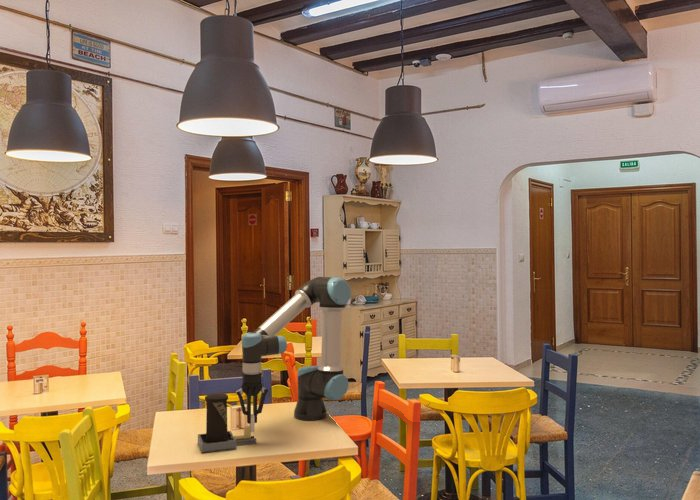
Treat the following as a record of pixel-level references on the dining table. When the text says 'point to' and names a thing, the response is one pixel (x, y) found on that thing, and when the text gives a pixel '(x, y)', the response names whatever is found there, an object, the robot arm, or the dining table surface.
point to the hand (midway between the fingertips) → (252, 431)
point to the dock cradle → (216, 444)
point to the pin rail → (246, 441)
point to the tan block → (246, 434)
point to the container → (216, 417)
